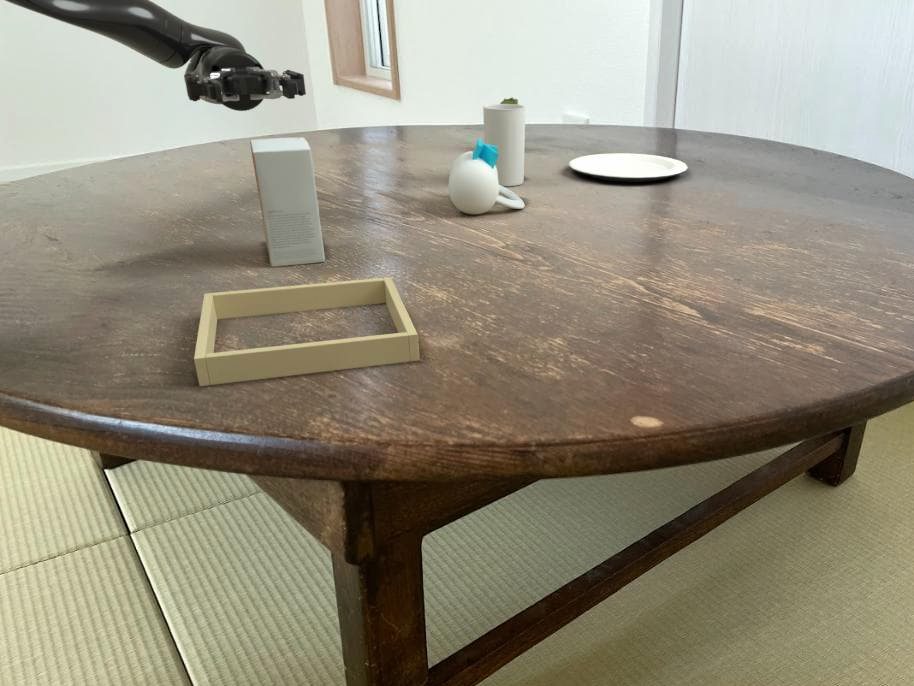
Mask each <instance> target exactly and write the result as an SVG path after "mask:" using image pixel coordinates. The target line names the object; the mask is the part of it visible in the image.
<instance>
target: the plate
mask: <svg viewBox="0 0 914 686" xmlns="http://www.w3.org/2000/svg"><path fill="white" fill-rule="evenodd" d="M568 167H569V169H571V170H572V171H573V172H577V173H579V174H581V175H586V176H588V177H590V178H594V179H599V180H603V181H608V182H609V181H610V182H620V183H645V182H654V181H660V180H665V179H668V178H671V177H677V176H679V175H682V174H684V173H686V171H687V170H688V165H687V164H686V162H683V161H681V160H678V159H675V158H672V157H667V156H661V155H654V154H645V153H623V152H620V153H619V152H617V153H613V152H612V153H598V154H597V153H596V154H590V155H589V154H588V155H584V156H583V155H582V156H578V157H576V158H573V159H572V160H570V161H569V162H568Z"/></svg>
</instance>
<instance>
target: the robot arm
mask: <svg viewBox="0 0 914 686" xmlns="http://www.w3.org/2000/svg"><path fill="white" fill-rule="evenodd" d="M4 1H6V2H7V3H10V4H12V5H15V6H18V7H20V8H23V9H26V10H28V11H32V12H35V13H37V14H39V15H43V16H46V17H49V18H51V19H54V20H56V21H60V22H63V23H66V24H68V25H71V26H74V27H77V28H81V29H84V30H86V31H89V32H93V33H95V34H98V35H100V36H103V37H106V38H107V39H109V40H112V41H114V42H117V43H119V44H121V45H123V46H125V47H127V48H130V49H131V50H133V51H134V52H136V53H139V54H140V55H142V56H144V57H146V58H148V59H150V60H152V61H154V62H156V63H157V64H160V65H161V66H164V67H165V68H168V69H173V70H174V69H179V68H182V67H184V66H185V65H186V64H187V63H188V62H189V63H188V64H187V67H186V69H185V71H184V74H183V79H184V80H183V81H184V84H185V88H186V89H185V90H186V93H187V97H188V100H189V101H192V102H198V101H200V100H202V101H205V102H206V103H209V104H213V105H222V106H223V107H226V108H228V109H230V110H233V111H238V112H247V111H251V110H253V109H255V108H256V107H258V106H259V105H261V104H262V102H263V101H264V100H276V99H281V97H284V98H286V99H288V100H293V99H295V98H296V96H299V97H303V96H305V95H307V93H306V92H307V90H306V84H305V75H304V73H301V72H297V71H294V70H291V69H286V70H283V72H282V74H279V73H278V70H275V69H265V68H264V67H263V65H262V64H261V62H260V61H259V60H258V59H257V58H255V57H254V56H253V55H251V54H249V53H247V51H246V48H245V47H244V45H243V43H242V42H241V41H240V40H238V39H237V38H236V37H235V36H233V35H231V34H229V33H227V32H224V31H220V30H217V29H213V28H209V27H203V26H199V25H197V24H194V23H191V22H188V21H186V20H184V19H182V18H181V17H178V16H177V15H175V14H174V13H172V12H170V11H168V10H167V9H165V8H163V7H162V6H160V5H158V4H157V3H155V2H153V1H151V0H4ZM280 87H281V88H280Z"/></svg>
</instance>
